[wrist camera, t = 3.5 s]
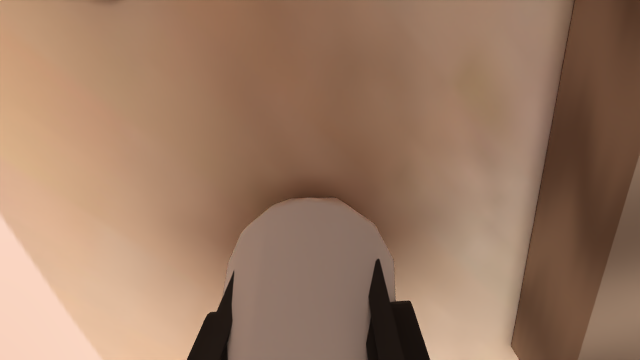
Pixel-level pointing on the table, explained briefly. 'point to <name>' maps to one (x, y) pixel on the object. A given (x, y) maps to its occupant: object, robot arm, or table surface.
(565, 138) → the walnut stand
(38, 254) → the table surface
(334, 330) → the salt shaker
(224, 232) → the table surface
